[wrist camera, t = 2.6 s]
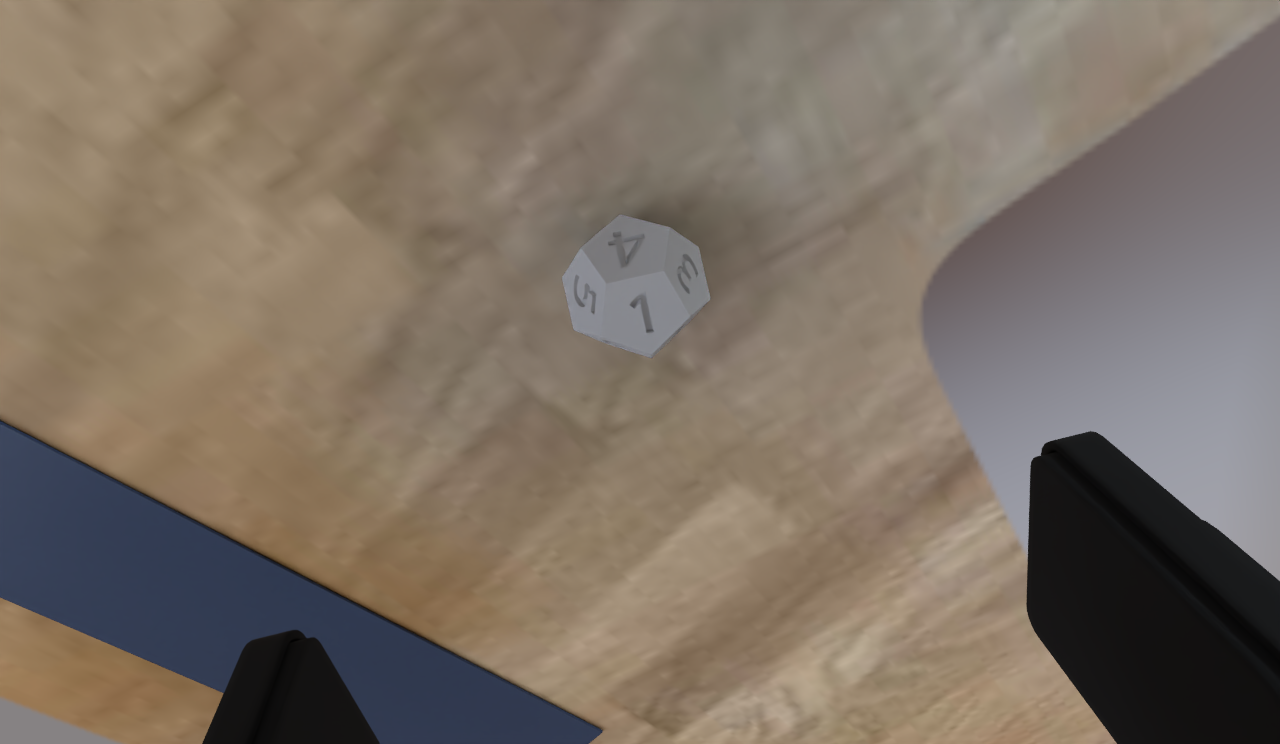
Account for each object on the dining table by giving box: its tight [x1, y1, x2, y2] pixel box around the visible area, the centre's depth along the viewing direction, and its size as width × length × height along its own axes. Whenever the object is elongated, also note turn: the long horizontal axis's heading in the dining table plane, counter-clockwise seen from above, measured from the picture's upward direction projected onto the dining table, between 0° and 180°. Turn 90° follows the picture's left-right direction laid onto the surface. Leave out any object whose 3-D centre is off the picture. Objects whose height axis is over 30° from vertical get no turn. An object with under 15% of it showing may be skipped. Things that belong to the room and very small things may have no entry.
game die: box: [562, 214, 711, 358], centre depth 20 cm, size 4×4×3 cm
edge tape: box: [0, 421, 602, 744], centre depth 26 cm, size 6×24×1 cm, turn 47°
